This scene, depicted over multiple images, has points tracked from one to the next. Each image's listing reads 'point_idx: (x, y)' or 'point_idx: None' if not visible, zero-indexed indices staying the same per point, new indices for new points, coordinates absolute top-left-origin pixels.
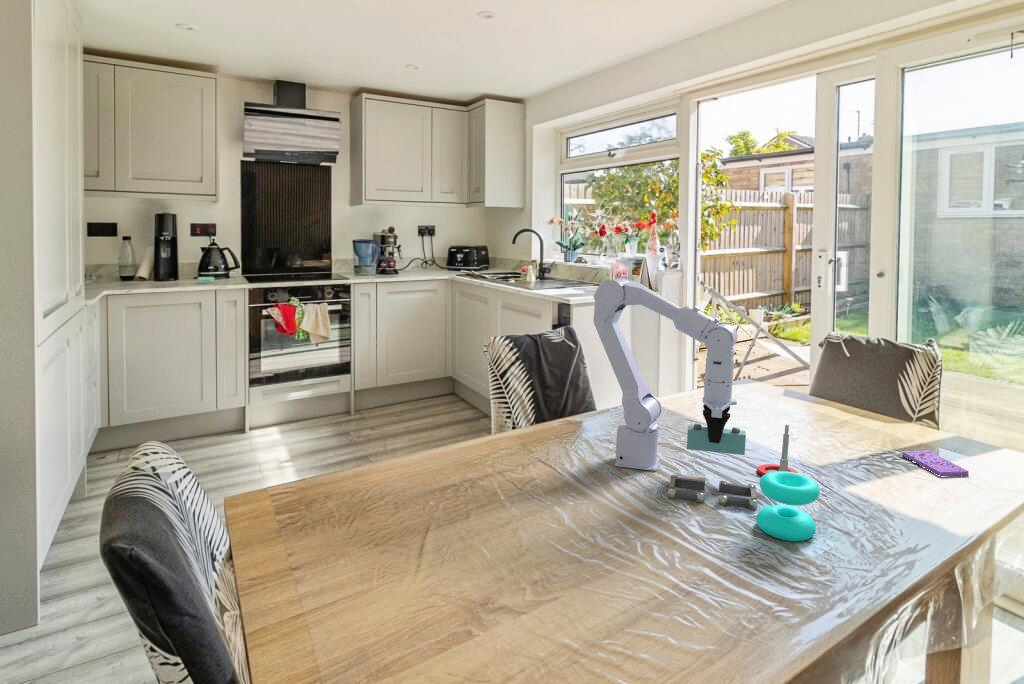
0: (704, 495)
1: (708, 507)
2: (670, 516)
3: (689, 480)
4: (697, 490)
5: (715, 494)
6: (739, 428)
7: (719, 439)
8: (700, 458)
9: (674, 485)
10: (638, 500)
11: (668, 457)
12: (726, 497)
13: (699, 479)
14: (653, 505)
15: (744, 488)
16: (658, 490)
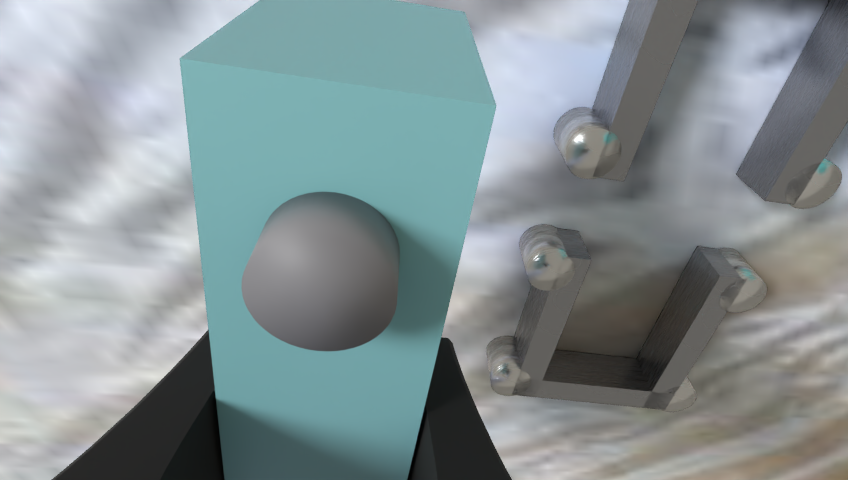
0: (756, 274)
1: (795, 235)
2: (841, 379)
3: (562, 327)
4: (706, 306)
5: (635, 180)
6: (289, 235)
7: (462, 377)
8: (53, 194)
9: (622, 386)
10: (672, 457)
11: (137, 349)
12: (839, 172)
13: (549, 282)
14: (725, 421)
15: (690, 9)
16: (578, 402)
